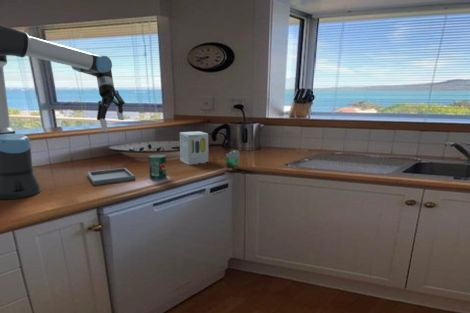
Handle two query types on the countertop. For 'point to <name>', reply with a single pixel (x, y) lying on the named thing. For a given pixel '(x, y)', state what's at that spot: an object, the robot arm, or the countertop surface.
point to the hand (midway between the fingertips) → (112, 125)
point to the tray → (110, 176)
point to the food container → (232, 160)
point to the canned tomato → (157, 166)
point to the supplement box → (193, 147)
